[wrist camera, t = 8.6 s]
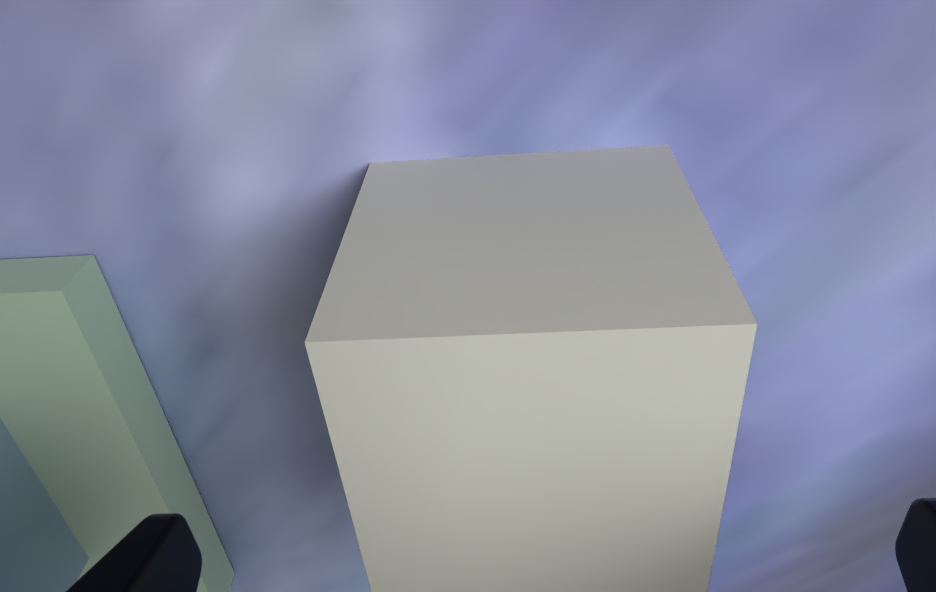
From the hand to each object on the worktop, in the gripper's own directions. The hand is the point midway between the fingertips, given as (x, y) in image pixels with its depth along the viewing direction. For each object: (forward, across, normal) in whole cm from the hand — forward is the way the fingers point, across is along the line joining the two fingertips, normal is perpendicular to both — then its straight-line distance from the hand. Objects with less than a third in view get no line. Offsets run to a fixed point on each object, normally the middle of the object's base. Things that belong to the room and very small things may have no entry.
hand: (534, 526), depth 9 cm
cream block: (+6, 0, 0) cm, 6 cm away
